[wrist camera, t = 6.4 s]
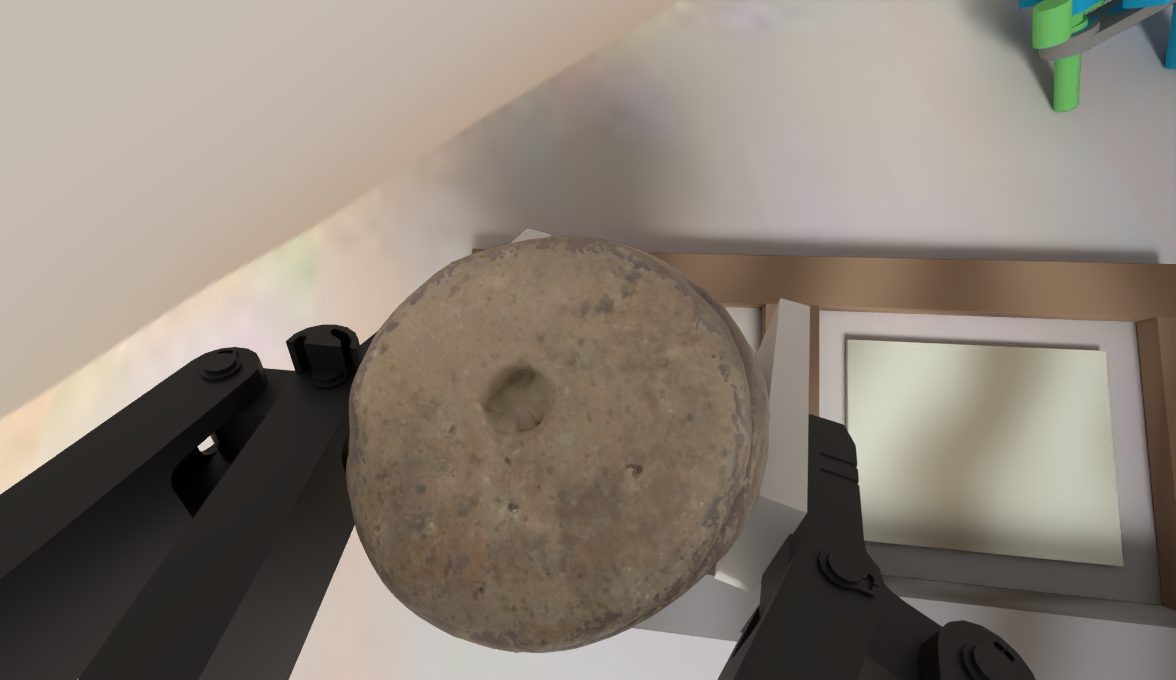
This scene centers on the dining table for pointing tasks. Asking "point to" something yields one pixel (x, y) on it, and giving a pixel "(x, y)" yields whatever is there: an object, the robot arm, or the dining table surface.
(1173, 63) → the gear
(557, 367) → the carving
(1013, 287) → the rail board
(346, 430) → the robot arm
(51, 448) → the dining table surface
